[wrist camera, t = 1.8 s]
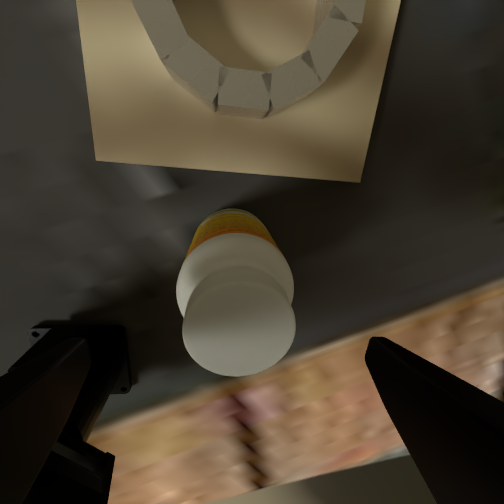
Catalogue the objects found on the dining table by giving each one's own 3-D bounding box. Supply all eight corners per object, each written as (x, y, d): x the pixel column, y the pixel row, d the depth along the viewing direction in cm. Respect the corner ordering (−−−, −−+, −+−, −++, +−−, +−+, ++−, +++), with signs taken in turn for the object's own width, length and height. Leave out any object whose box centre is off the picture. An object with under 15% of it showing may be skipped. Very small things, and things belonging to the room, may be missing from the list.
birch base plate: (352, 181, 17) (359, 182, 16) (104, 160, 15) (95, 160, 14) (428, -173, 11) (446, -203, 10) (53, -283, 9) (34, -332, 8)
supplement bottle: (182, 219, 16) (131, 288, 7) (259, 198, 16) (302, 241, 7) (207, 286, 18) (190, 408, 9) (276, 268, 18) (325, 370, 9)
